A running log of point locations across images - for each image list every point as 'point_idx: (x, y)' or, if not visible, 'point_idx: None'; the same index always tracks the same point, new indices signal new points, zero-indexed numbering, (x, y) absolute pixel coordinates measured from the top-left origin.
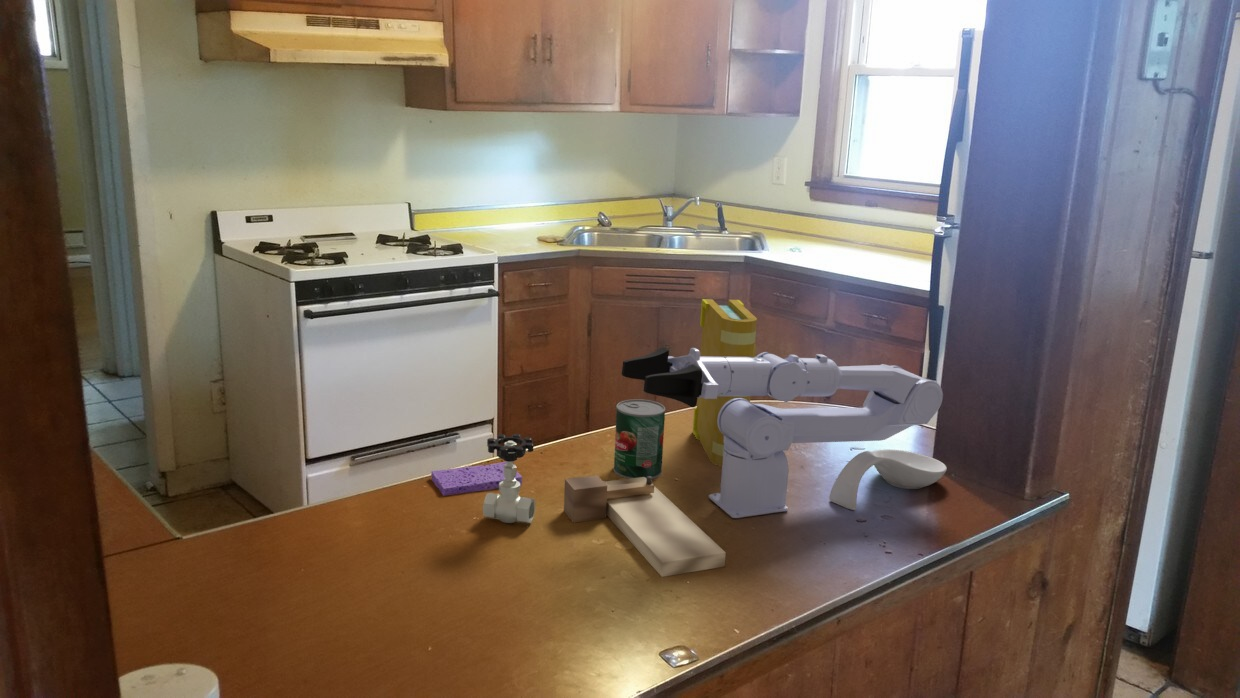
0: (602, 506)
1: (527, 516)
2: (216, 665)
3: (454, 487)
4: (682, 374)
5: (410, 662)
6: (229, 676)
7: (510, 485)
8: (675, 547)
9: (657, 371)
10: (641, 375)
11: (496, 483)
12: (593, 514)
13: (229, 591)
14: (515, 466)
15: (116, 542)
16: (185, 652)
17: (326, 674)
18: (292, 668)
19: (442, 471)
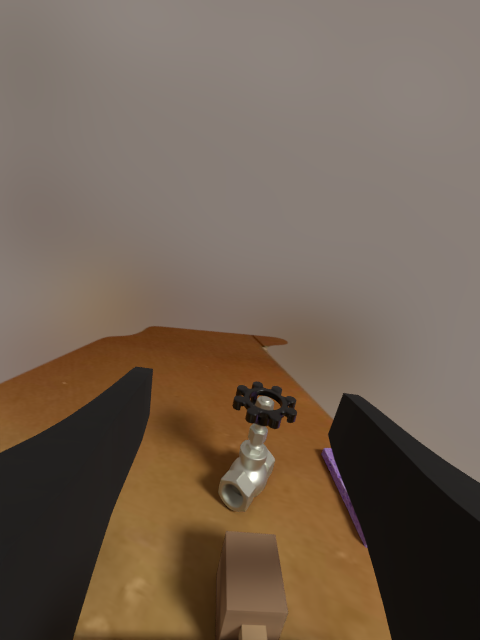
0: (219, 628)
1: (219, 487)
2: (129, 335)
3: (327, 457)
4: (7, 451)
5: (59, 373)
6: (116, 336)
7: (245, 446)
8: None
9: (417, 587)
10: (364, 502)
11: (350, 504)
12: (217, 613)
13: (196, 347)
14: (256, 432)
15: (263, 336)
16: (148, 333)
17: (85, 352)
18: (103, 347)
19: None
